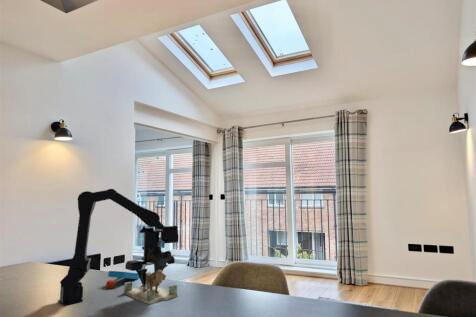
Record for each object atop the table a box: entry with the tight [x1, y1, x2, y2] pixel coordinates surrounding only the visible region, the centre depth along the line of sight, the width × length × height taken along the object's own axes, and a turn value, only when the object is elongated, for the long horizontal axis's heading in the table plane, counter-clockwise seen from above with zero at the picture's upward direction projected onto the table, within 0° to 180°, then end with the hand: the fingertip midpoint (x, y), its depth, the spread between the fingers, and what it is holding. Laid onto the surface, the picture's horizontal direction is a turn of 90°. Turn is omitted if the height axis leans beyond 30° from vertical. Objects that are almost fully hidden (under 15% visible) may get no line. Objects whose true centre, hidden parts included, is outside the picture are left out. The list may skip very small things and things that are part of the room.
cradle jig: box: [123, 281, 178, 305], centre depth 124 cm, size 12×19×4 cm, turn 47°
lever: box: [105, 270, 140, 289], centre depth 140 cm, size 7×7×18 cm
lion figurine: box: [140, 270, 167, 293], centre depth 124 cm, size 15×5×9 cm, turn 48°
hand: (150, 285), depth 124 cm, fingers open, 5 cm apart
